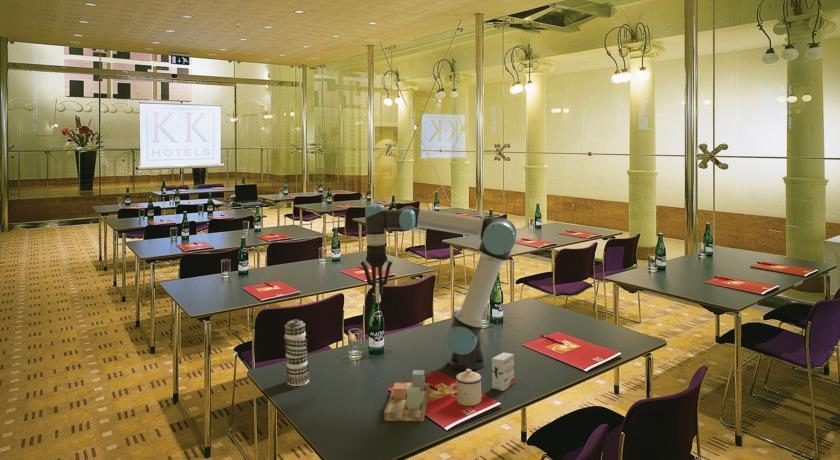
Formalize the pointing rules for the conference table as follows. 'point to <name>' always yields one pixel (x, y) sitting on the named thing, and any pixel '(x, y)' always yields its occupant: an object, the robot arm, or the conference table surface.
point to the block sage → (413, 398)
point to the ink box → (502, 371)
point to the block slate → (419, 379)
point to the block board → (399, 408)
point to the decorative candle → (296, 353)
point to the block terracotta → (399, 392)
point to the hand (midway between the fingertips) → (378, 302)
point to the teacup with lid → (467, 388)
